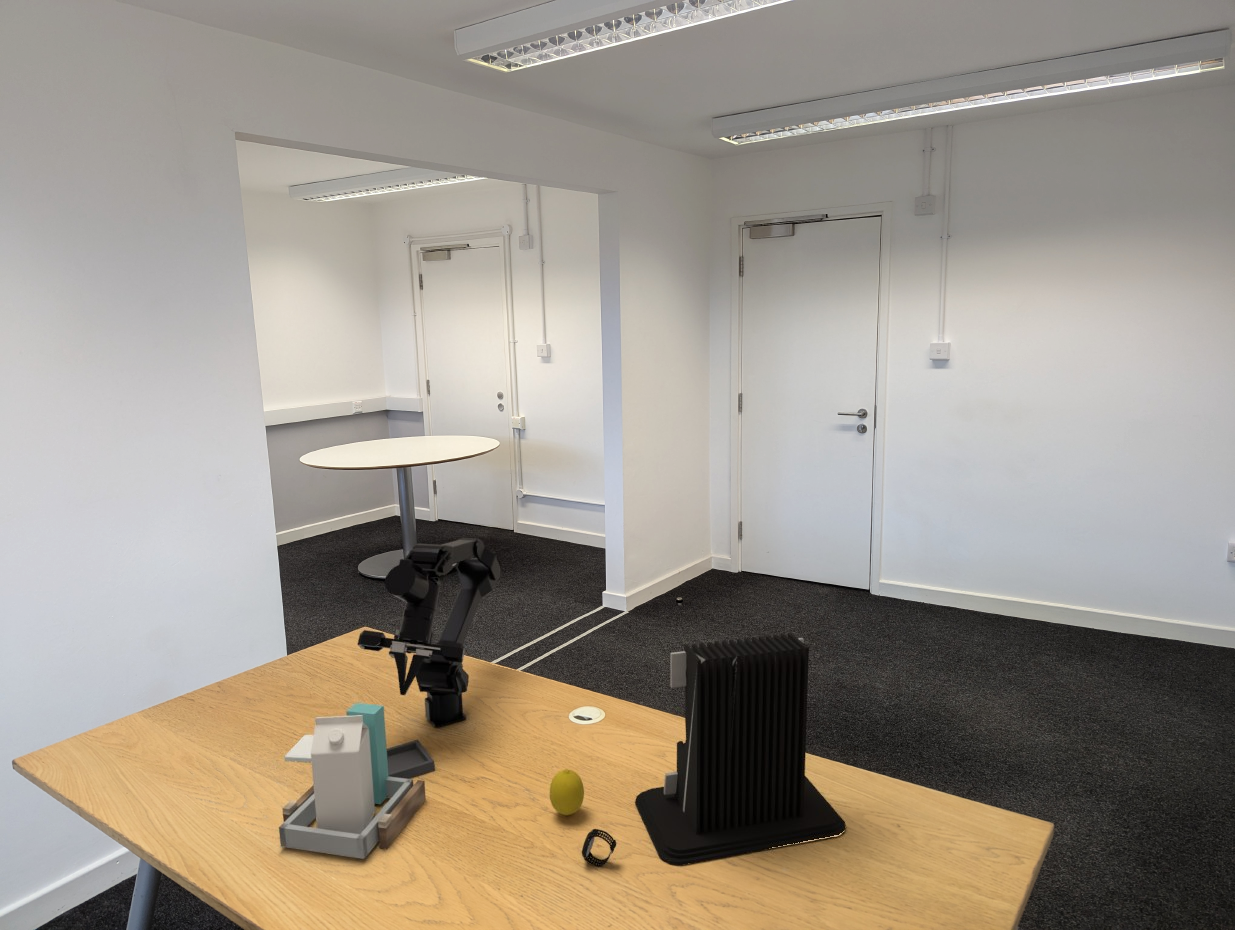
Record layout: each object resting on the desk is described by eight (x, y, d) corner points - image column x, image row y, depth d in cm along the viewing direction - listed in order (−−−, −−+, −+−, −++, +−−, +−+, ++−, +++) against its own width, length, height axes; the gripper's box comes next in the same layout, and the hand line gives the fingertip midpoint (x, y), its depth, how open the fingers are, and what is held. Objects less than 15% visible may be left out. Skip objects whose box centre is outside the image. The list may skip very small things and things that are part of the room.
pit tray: (418, 748, 151) (417, 739, 151) (434, 770, 143) (434, 761, 143) (370, 762, 146) (369, 753, 146) (384, 786, 139) (383, 776, 138)
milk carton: (330, 815, 131) (321, 707, 127) (375, 812, 131) (367, 704, 128) (318, 843, 124) (308, 729, 120) (365, 840, 124) (356, 726, 121)
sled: (338, 787, 137) (331, 700, 135) (414, 797, 134) (408, 708, 132) (280, 846, 122) (271, 749, 119) (364, 858, 119) (356, 759, 116)
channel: (331, 787, 138) (329, 763, 138) (425, 799, 135) (424, 775, 134) (284, 834, 126) (282, 808, 125) (387, 849, 122) (385, 822, 121)
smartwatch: (594, 850, 121) (593, 820, 120) (620, 864, 118) (619, 833, 117) (575, 864, 118) (574, 833, 117) (602, 879, 115) (601, 848, 114)
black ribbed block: (797, 771, 142) (802, 609, 137) (852, 835, 124) (861, 652, 119) (631, 797, 135) (629, 628, 130) (664, 869, 117) (663, 676, 112)
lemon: (589, 808, 132) (588, 763, 130) (576, 828, 127) (575, 782, 125) (558, 802, 133) (557, 758, 132) (544, 821, 128) (543, 776, 127)
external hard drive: (306, 741, 155) (368, 743, 154) (285, 764, 147) (350, 766, 146) (305, 733, 155) (367, 735, 154) (284, 756, 147) (349, 758, 146)
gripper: (471, 623, 158) (456, 705, 153) (375, 610, 157) (356, 692, 151) (470, 613, 148) (454, 700, 142) (367, 598, 146) (347, 686, 140)
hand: (402, 694), depth 144 cm, fingers closed
